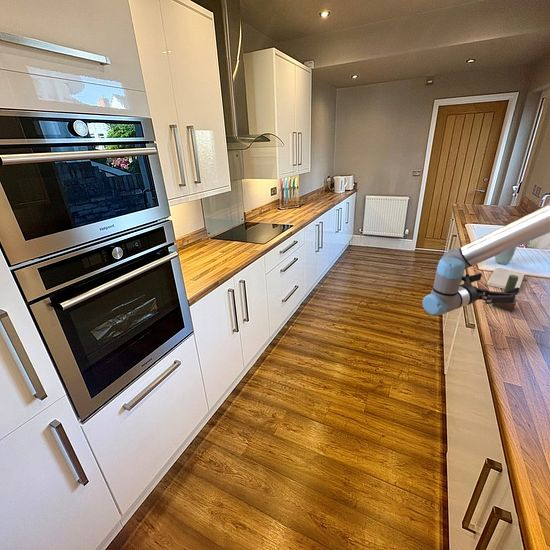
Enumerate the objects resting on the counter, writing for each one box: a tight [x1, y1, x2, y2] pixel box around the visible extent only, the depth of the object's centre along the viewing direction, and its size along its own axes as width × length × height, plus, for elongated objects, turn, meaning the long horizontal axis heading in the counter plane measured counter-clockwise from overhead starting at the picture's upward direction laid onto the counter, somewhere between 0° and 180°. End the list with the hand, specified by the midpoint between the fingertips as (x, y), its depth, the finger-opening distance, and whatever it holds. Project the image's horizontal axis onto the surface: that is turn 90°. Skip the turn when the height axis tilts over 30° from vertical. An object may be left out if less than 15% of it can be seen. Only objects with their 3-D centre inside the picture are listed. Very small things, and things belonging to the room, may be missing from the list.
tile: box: [486, 266, 526, 290], centre depth 141 cm, size 12×22×2 cm, turn 137°
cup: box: [494, 247, 517, 265], centre depth 158 cm, size 8×8×10 cm
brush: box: [491, 275, 519, 313], centre depth 118 cm, size 7×5×14 cm
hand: (497, 283), depth 112 cm, fingers open, 13 cm apart
